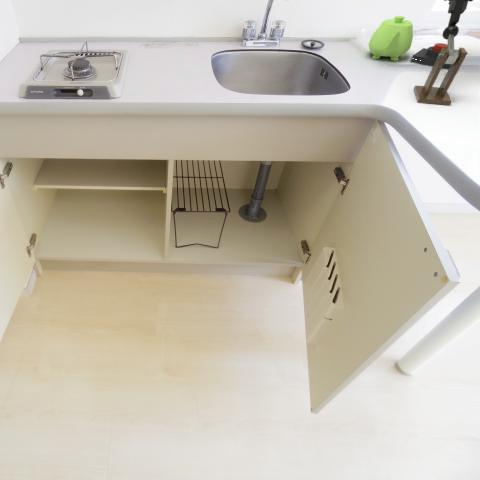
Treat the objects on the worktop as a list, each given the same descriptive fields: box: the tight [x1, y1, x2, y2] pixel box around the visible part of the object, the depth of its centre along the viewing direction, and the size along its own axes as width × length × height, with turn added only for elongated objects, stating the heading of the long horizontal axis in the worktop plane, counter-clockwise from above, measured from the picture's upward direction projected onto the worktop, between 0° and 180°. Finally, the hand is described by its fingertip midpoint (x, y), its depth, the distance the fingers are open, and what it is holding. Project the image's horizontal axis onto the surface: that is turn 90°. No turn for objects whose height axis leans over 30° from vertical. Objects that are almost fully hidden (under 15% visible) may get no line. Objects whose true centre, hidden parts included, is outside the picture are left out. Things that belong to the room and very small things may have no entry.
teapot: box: [368, 15, 414, 62], centre depth 123 cm, size 20×13×13 cm
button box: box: [409, 45, 451, 70], centre depth 120 cm, size 12×10×4 cm
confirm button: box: [433, 42, 448, 51], centre depth 119 cm, size 4×4×2 cm
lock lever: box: [441, 24, 460, 64], centre depth 96 cm, size 14×4×4 cm, turn 160°
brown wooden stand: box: [412, 47, 468, 106], centre depth 97 cm, size 10×8×13 cm
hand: (453, 23), depth 98 cm, fingers closed
